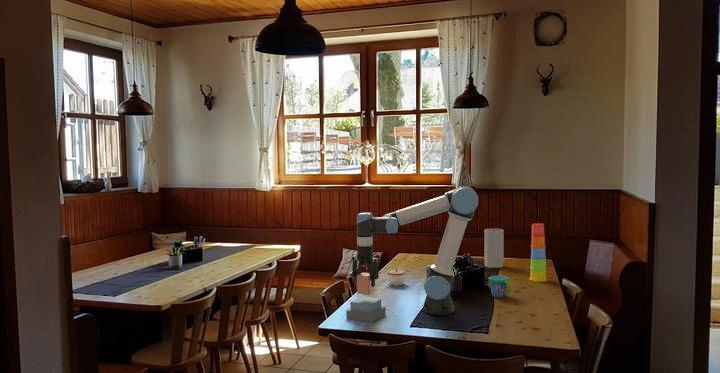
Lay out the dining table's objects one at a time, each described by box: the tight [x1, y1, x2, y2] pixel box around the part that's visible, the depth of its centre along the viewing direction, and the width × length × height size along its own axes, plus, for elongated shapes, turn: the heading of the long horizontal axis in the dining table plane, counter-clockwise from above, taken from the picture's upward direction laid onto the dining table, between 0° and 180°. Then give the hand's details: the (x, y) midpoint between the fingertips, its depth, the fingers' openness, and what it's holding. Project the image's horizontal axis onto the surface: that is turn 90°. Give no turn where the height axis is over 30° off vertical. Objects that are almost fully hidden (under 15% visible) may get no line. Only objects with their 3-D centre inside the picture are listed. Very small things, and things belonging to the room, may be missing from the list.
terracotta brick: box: [356, 272, 371, 296], centre depth 256 cm, size 6×6×9 cm
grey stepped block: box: [345, 295, 386, 324], centre depth 257 cm, size 14×14×8 cm
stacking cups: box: [529, 222, 548, 283], centre depth 321 cm, size 10×10×35 cm
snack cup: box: [487, 275, 511, 298], centre depth 288 cm, size 16×10×10 cm
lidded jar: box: [387, 268, 407, 287], centre depth 317 cm, size 11×11×9 cm
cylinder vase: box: [484, 228, 505, 269], centre depth 360 cm, size 12×12×25 cm
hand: (365, 292), depth 257 cm, fingers closed on terracotta brick, 6 cm apart
